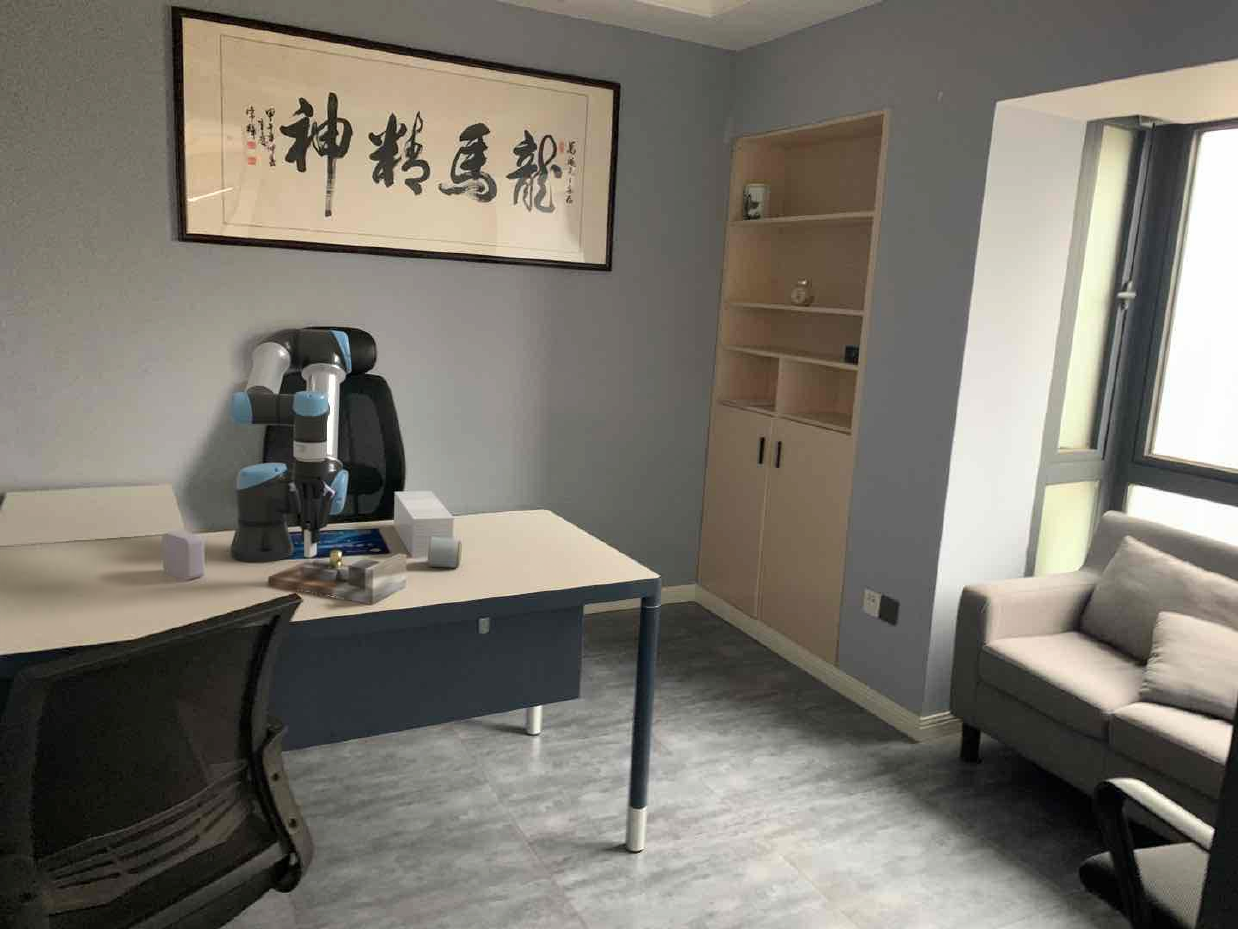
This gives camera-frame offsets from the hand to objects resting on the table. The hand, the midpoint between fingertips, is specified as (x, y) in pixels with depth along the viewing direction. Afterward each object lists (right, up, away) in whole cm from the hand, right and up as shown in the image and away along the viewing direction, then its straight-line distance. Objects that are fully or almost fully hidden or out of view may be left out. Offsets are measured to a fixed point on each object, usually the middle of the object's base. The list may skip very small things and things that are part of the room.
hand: (310, 555), depth 217 cm
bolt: (+11, -5, -3) cm, 13 cm away
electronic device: (-29, -5, -1) cm, 30 cm away
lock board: (+7, -7, -2) cm, 10 cm away
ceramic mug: (+28, -5, +20) cm, 35 cm away
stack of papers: (+18, 0, +41) cm, 44 cm away
